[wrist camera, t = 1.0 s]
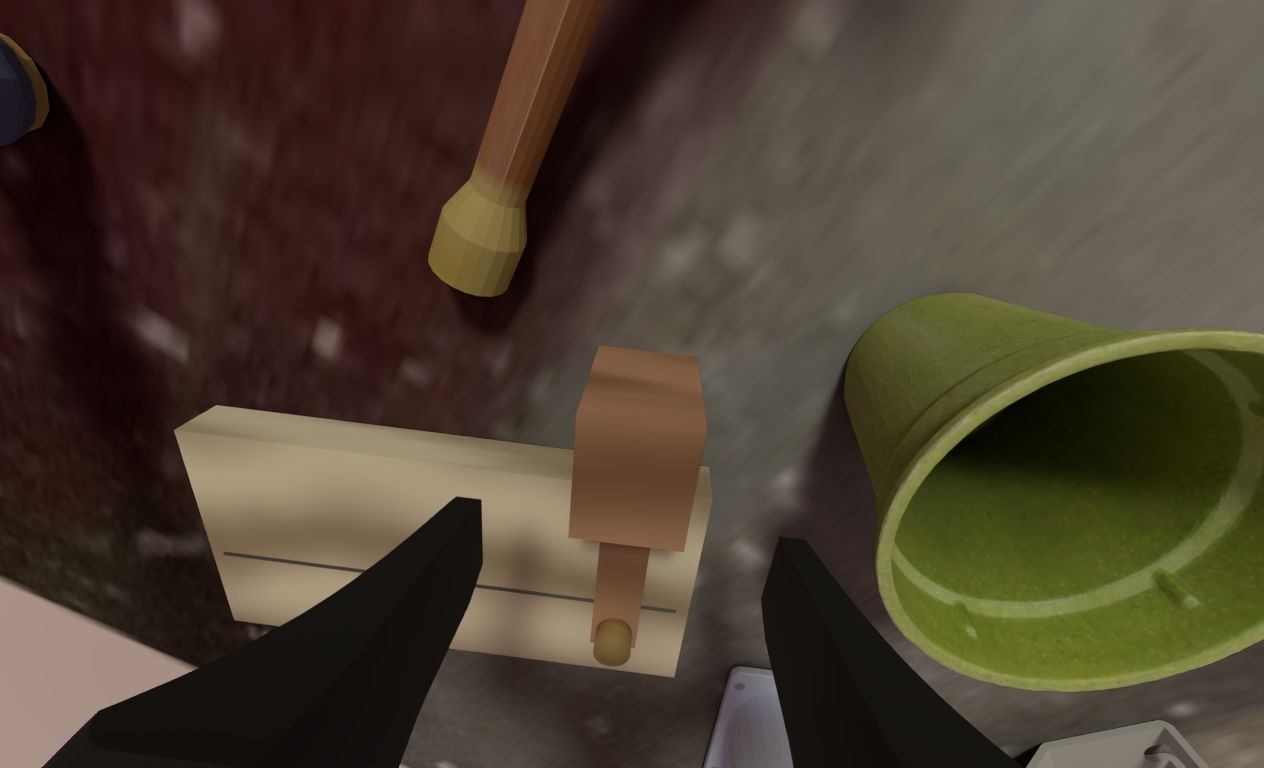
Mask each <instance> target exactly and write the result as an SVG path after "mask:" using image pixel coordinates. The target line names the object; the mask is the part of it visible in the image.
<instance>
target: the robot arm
mask: <svg viewBox="0 0 1264 768" xmlns="http://www.w3.org/2000/svg"><path fill="white" fill-rule="evenodd" d="M482 565H483V540H482V499H474V498H466V497H458V496H456V497H455V498H454V499H452V500H451V501H450V502H449V503H448V504H446V505H445V506H444V507H443V508H442V509H441V510H439V511H438V512H437V513H436V514H435V515H434V516H433V517H431V518H430V519H429V520H428V521H427V522H426V523H424V524H423V525H422V526H421V527H420V528H419V529H417V530H416V531H415V532H414V533H413V534H412V535H410V536H409V537H408V538H407V539H405V540H404V541H403V542H402V543H401V544H399V545H398V546H397V547H396V548H394V549H393V550H392V551H391V552H390V553H388V554H387V555H386V556H384V557H383V558H382V559H381V560H379V561H378V562H377V563H375V564H374V565H373V566H371V567H370V568H368V569H367V570H366V571H364V572H363V573H362V574H360V575H359V576H358V577H356V578H355V579H354V580H352V581H351V582H350V583H348V584H347V585H345V586H344V587H342V588H341V589H339V590H338V591H337V592H335V593H334V594H332V595H331V596H329V597H328V598H326V599H324V600H323V601H321V602H320V603H318V604H317V605H315V606H313V607H312V608H310V609H309V610H307V611H305V612H304V613H302V614H301V615H299V616H297V617H295V618H294V619H292V620H290V621H288V622H286V623H285V624H283V625H281V626H279V627H277V628H276V629H274V630H272V631H270V632H269V633H267V634H265V635H263V636H261V637H260V638H258V639H256V640H254V641H252V642H251V643H249V644H247V645H245V646H243V647H241V648H239V649H237V650H235V651H233V652H231V653H229V654H227V655H225V656H223V657H221V658H219V659H217V660H215V661H213V662H211V663H208V664H206V665H204V666H202V667H200V668H198V669H196V670H194V671H192V672H189V673H187V674H185V675H183V676H181V677H179V678H176V679H174V680H172V681H170V682H167V683H165V684H162V685H160V686H157V687H155V688H153V689H150V690H148V691H146V692H143V693H141V694H139V695H136V696H134V697H131V698H129V699H127V700H124V701H122V702H119V703H117V704H115V705H112V706H110V707H107V708H105V709H102V710H100V711H98V712H97V713H96V714H95V715H94V716H93V717H92V718H91V719H90V720H89V721H88V722H87V723H86V724H85V725H84V726H83V727H82V728H81V729H80V730H79V731H78V732H77V733H76V734H74V736H72V738H71V739H70V740H69V741H68V742H67V743H66V744H65V745H64V746H63V747H62V748H61V749H60V750H59V751H58V752H57V753H56V754H55V755H54V756H53V757H52V758H51V759H50V760H49V761H48V762H47V763H46V764H45V765H44V766H43V767H42V768H399V765H400V763H401V760H402V757H403V754H404V752H405V749H406V746H407V743H408V741H409V738H410V735H411V733H412V730H413V727H414V724H415V722H416V719H417V716H418V714H419V712H420V709H421V707H422V705H423V702H424V700H425V698H426V695H427V693H428V691H429V689H430V687H431V685H432V682H433V680H434V678H435V676H436V674H437V672H438V670H439V668H440V666H441V663H442V661H443V659H444V657H445V655H446V653H447V651H448V649H449V647H450V644H451V642H452V640H453V638H454V636H455V634H456V632H457V630H458V627H459V625H460V623H461V621H462V619H463V617H464V615H465V612H466V610H467V608H468V606H469V604H470V601H471V598H472V595H473V592H474V589H475V586H476V583H477V580H478V577H479V574H480V571H481V568H482ZM761 602H762V613H763V623H764V631H765V640H766V645H767V650H768V654H769V659H770V663H771V668H772V670H766V669H759V668H751V667H743V666H738V667H735V668H733V669H732V670H731V672H730V675H729V678H728V682H727V685H726V689H725V692H724V696H723V699H722V703H721V706H720V710H719V713H718V717H717V720H716V724H715V727H714V731H713V734H712V738H711V741H710V745H709V748H708V752H707V755H706V759H705V762H704V766H703V768H1023V767H1022V766H1020V765H1019V764H1018V763H1017V762H1015V761H1014V760H1013V759H1012V758H1010V757H1009V756H1008V755H1007V754H1005V753H1004V752H1003V751H1002V750H1001V749H999V748H998V747H997V746H996V745H994V744H993V743H992V742H991V741H990V740H988V739H987V738H986V737H985V736H984V735H983V734H982V733H980V732H979V731H978V730H977V729H976V728H975V727H974V726H972V725H971V724H970V723H969V722H968V721H967V720H966V719H964V718H963V717H962V716H961V715H960V714H959V713H958V712H956V711H955V710H954V709H953V708H952V707H951V706H950V705H949V704H948V703H947V702H946V701H944V700H943V699H942V698H941V697H940V696H939V695H938V694H937V693H936V692H935V691H934V690H933V689H932V688H931V687H930V686H929V685H928V684H927V683H926V682H925V681H924V680H923V679H922V678H921V677H920V676H919V675H918V674H917V673H916V672H915V671H914V670H913V669H912V668H911V667H910V666H909V665H908V664H907V663H906V662H905V661H904V660H903V659H902V658H901V657H900V656H899V655H898V654H897V653H896V651H895V650H894V649H893V648H892V647H891V646H890V645H889V644H888V643H887V641H886V640H885V639H884V638H883V637H882V636H881V635H880V634H879V633H878V631H877V630H876V629H875V628H874V627H873V626H872V624H871V623H870V622H869V621H868V620H867V619H866V617H865V616H864V615H863V614H862V613H861V611H860V610H859V609H858V608H857V607H856V605H855V604H854V603H853V602H852V600H851V599H850V598H849V597H848V595H847V594H846V593H845V592H844V590H843V589H842V588H841V586H840V585H839V584H838V583H837V581H836V580H835V579H834V577H833V576H832V575H831V574H830V572H829V571H828V570H827V568H826V567H825V566H824V564H823V563H822V562H821V560H820V559H819V558H818V556H817V555H816V554H815V552H814V551H813V550H812V548H811V547H810V546H809V545H808V543H807V542H806V541H805V540H800V539H792V538H784V537H779V540H778V544H777V547H776V551H775V554H774V557H773V561H772V564H771V567H770V571H769V574H768V577H767V581H766V584H765V587H764V591H763V594H762V597H761Z"/></svg>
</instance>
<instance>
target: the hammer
mask: <svg viewBox="0 0 1264 768" xmlns="http://www.w3.org/2000/svg"><path fill="white" fill-rule="evenodd" d="M606 2H607V0H527V1H526V4H525V8H524V11H523V14H522V17H521V20H520V24H519V27H518V30H517V33H516V36H515V39H514V43H513V46H512V49H511V52H510V55H509V58H508V62H507V65H506V68H505V71H504V74H503V77H502V81H501V84H500V87H499V90H498V93H497V96H496V100H495V103H494V106H493V109H492V112H491V116H490V119H489V122H488V125H487V128H486V131H485V135H484V138H483V141H482V144H481V147H480V150H479V154H478V157H477V160H476V163H475V166H474V169H473V173H472V176H471V178H470V179H469V181H468V182H467V183H466V184H465V185H464V186H463V187H462V188H461V189H460V190H459V191H458V192H457V193H456V194H455V195H454V196H453V197H452V198H451V199H450V200H449V201H448V202H447V203H446V204H445V205H444V207H443V208H442V211H441V215H440V218H439V221H438V225H437V228H436V232H435V235H434V238H433V242H432V245H431V249H430V252H429V264H430V266H431V268H432V270H433V272H434V273H435V274H436V275H437V276H438V277H439V278H440V279H441V280H443V281H444V282H446V283H447V284H449V285H450V286H452V287H453V288H456V289H458V290H460V291H463V292H465V293H468V294H472V295H476V296H485V297H492V296H497V295H501V294H502V293H504V292H505V291H506V290H507V288H508V286H509V284H510V281H511V279H512V277H513V274H514V272H515V270H516V267H517V265H518V262H519V260H520V258H521V255H522V253H523V251H524V248H525V246H526V243H527V227H526V205H525V202H526V200H527V197H528V195H529V192H530V190H531V187H532V185H533V183H534V180H535V178H536V175H537V173H538V170H539V168H540V165H541V163H542V160H543V158H544V155H545V153H546V150H547V148H548V145H549V143H550V140H551V138H552V135H553V133H554V131H555V128H556V126H557V123H558V121H559V118H560V116H561V113H562V111H563V108H564V106H565V103H566V101H567V98H568V96H569V93H570V91H571V88H572V86H573V83H574V81H575V79H576V76H577V74H578V71H579V69H580V66H581V64H582V61H583V59H584V56H585V54H586V51H587V49H588V46H589V44H590V41H591V39H592V36H593V34H594V31H595V29H596V27H597V24H598V22H599V19H600V17H601V14H602V12H603V9H604V7H605V4H606Z"/></svg>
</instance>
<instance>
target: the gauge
mask: <svg viewBox="0 0 1264 768" xmlns="http://www.w3.org/2000/svg"><path fill="white" fill-rule="evenodd" d="M706 435H707V423H706V415H705V408H704V401H703V393H702V386H701V378H700V371H699V364H698V357H690V356H682V355H674V354H665V353H657V352H649V351H640V350H632V349H624V348H615V347H607V346H599V347H598V350H597V353H596V356H595V359H594V362H593V365H592V368H591V371H590V374H589V377H588V380H587V383H586V386H585V389H584V392H583V395H582V398H581V401H580V404H579V407H578V410H577V413H576V427H575V442H574V457H573V472H572V488H571V503H570V518H569V534H568V538H574V539H582V540H590V541H598V542H600V547H599V557H598V567H597V577H596V587H595V597H594V607H593V617H592V627H591V637H590V642H592V643H594V649H593V655H594V657H595V659H596V660H597V661H598V662H599V663H601V664H603V665H606V666H620V665H623V664H625V663H626V662H627V661H628V660H629V658H630V650H631V647H632V648H635V642H636V636H637V629H638V623H639V616H640V610H641V603H642V597H643V591H644V584H645V578H646V571H647V565H648V558H649V552H650V548H654V549H662V550H670V551H678V552H684V549H685V544H686V538H687V533H688V528H689V523H690V518H691V512H692V507H693V502H694V497H695V492H696V487H697V481H698V476H699V471H700V466H701V461H702V455H703V450H704V445H705V440H706Z"/></svg>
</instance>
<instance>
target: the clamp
mask: <svg viewBox="0 0 1264 768" xmlns="http://www.w3.org/2000/svg"><path fill="white" fill-rule="evenodd" d="M1160 744H1167V745H1169V746H1170V747H1171V748H1172V749H1173V751H1174V752H1175V753H1176V754H1177V755H1178V757H1179V758H1180V759H1181V760H1182V761H1183V763H1184V764H1185V765H1186V766H1187V768H1209V767H1208V766H1207V765H1206V763H1205V762H1204V761H1203V760H1202V759H1201V758H1200V756H1199V755H1198V754H1197V753H1196V752H1195V751H1194V749H1193V748H1192V747H1191V746H1190V745H1189V744H1188V743H1187V741H1186V740H1185V739H1184V738H1183V737H1182V736H1181V734H1180V733H1179V732H1178V731H1177V730H1176V729H1175V727H1174V726H1172V725H1171V724H1169V723H1167V722H1165V721H1160V720H1156V721H1151V722H1146V723H1141V724H1136V725H1131V726H1126V727H1121V728H1116V729H1111V730H1106V731H1101V732H1095V733H1090V734H1085V735H1080V736H1075V737H1070V738H1065V739H1060V740H1055V741H1050V742H1045V743H1043V744H1041V746H1040V747H1039V749H1038V750H1037V752H1036V753H1035V755H1034V756H1033V758H1032V759H1031V761H1030V762H1029V764H1028V765H1027V767H1026V768H1185V767H1184V765H1183V764H1182V763H1181V762H1180V760H1178V759H1177V758H1176V757H1175V756H1173V755H1170V754H1167V753H1158V754H1152V755H1145V754H1144V752H1145V750H1146V749H1147V748H1149V747H1151V746H1154V745H1160Z"/></svg>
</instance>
